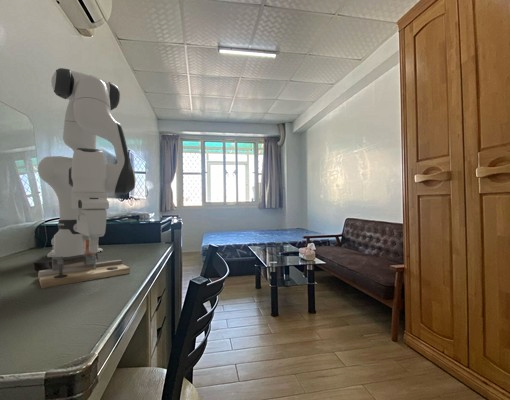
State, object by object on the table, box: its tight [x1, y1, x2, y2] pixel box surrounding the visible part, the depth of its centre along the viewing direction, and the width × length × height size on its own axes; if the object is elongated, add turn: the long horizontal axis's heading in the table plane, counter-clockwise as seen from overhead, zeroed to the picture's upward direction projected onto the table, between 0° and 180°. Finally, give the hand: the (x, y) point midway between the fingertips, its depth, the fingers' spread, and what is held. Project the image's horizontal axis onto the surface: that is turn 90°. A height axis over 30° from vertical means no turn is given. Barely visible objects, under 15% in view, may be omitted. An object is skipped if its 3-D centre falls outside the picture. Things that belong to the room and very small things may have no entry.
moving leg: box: [84, 239, 97, 270], centre depth 76 cm, size 8×2×8 cm, turn 42°
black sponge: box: [32, 253, 99, 273], centre depth 86 cm, size 16×8×4 cm, turn 155°
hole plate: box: [37, 256, 131, 289], centre depth 75 cm, size 12×20×6 cm, turn 132°
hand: (89, 250), depth 78 cm, fingers open, 8 cm apart
